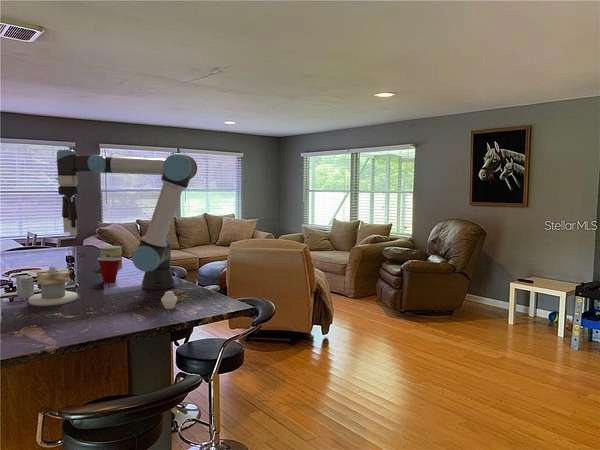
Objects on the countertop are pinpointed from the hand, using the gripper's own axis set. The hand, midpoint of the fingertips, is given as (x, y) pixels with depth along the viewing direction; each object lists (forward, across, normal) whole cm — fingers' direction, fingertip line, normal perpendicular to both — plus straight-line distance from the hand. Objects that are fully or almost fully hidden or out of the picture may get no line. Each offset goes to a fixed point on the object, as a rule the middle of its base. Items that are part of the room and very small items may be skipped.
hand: (70, 233), depth 198 cm
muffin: (+28, +48, +26) cm, 61 cm away
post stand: (+26, +10, -9) cm, 30 cm away
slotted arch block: (+18, +10, -9) cm, 23 cm away
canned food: (+26, -51, +30) cm, 64 cm away
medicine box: (+26, -3, -18) cm, 32 cm away
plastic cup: (+27, -14, +19) cm, 36 cm away
